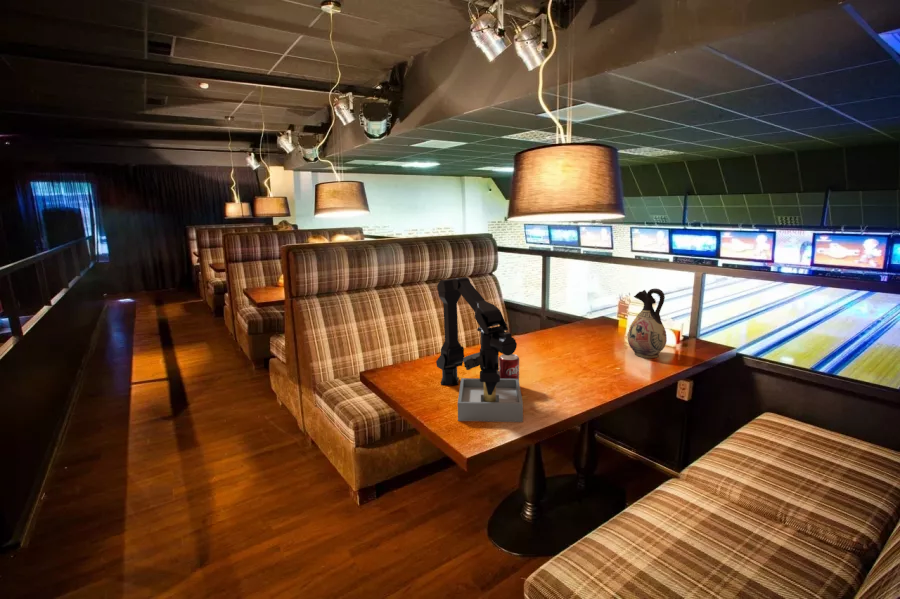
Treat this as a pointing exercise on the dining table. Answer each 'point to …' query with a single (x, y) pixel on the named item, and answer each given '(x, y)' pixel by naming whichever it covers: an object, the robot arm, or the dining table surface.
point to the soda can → (509, 366)
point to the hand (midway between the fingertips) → (489, 392)
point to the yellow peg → (489, 397)
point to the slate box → (501, 410)
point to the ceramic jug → (648, 327)
